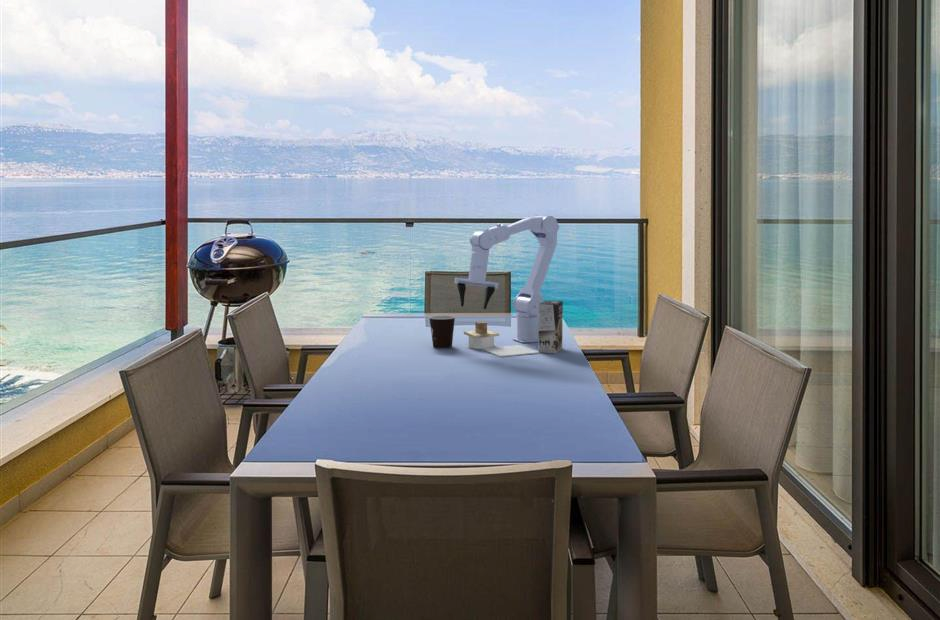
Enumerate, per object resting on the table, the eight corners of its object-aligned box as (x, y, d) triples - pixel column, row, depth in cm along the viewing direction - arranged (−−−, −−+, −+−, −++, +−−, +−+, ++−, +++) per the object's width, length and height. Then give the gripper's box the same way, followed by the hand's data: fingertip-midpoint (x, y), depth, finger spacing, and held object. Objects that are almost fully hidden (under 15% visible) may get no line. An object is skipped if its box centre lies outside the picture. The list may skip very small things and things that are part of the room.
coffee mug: (452, 349, 283) (451, 319, 282) (427, 348, 285) (426, 319, 284) (459, 342, 295) (459, 314, 293) (435, 342, 296) (434, 313, 295)
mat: (519, 346, 288) (519, 344, 288) (539, 353, 275) (539, 352, 275) (482, 349, 282) (482, 348, 282) (500, 357, 270) (500, 355, 270)
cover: (487, 331, 293) (487, 319, 292) (499, 335, 285) (499, 323, 284) (463, 333, 289) (463, 321, 289) (474, 338, 281) (474, 325, 281)
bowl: (487, 343, 293) (487, 332, 292) (497, 347, 286) (497, 335, 285) (465, 345, 290) (465, 333, 289) (475, 349, 283) (475, 337, 282)
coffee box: (557, 353, 275) (557, 304, 272) (537, 352, 277) (537, 303, 274) (563, 348, 283) (563, 300, 281) (544, 347, 285) (544, 299, 283)
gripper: (458, 264, 279) (453, 305, 280) (501, 270, 281) (496, 311, 282) (456, 264, 286) (450, 304, 287) (498, 269, 288) (493, 309, 289)
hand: (473, 307), depth 285 cm, fingers open, 7 cm apart
